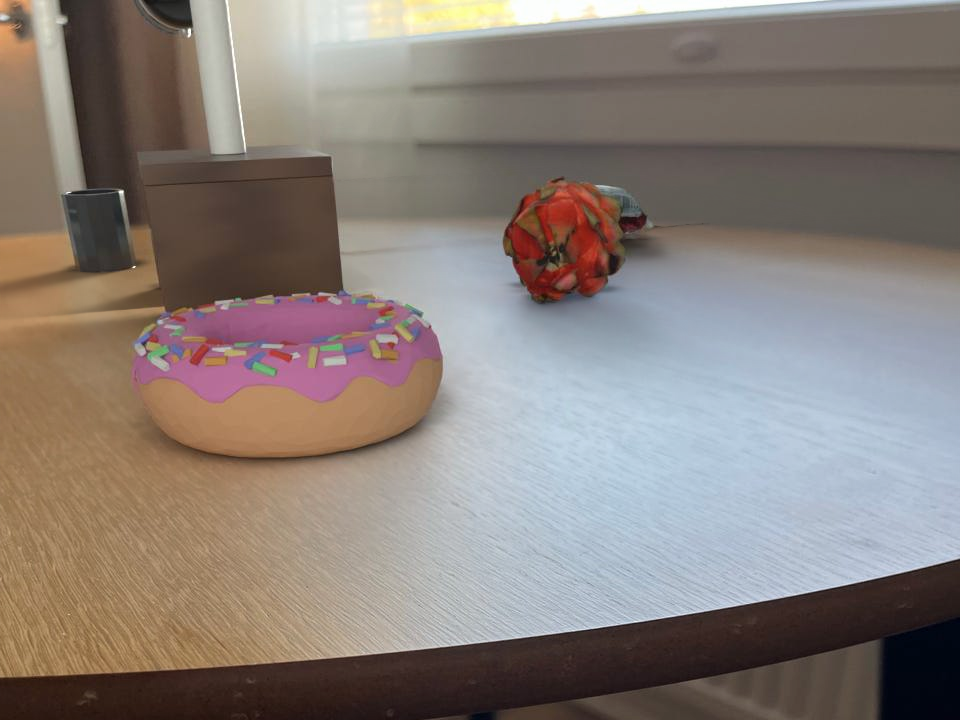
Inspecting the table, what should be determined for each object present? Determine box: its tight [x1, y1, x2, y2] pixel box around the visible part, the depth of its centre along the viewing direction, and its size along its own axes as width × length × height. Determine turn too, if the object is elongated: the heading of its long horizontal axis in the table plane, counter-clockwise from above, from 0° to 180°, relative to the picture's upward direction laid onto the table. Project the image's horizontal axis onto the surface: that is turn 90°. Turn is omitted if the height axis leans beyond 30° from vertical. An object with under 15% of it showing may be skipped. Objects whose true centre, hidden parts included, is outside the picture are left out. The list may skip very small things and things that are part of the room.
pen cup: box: [60, 188, 138, 273], centre depth 88 cm, size 5×5×6 cm
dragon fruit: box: [502, 175, 629, 304], centre depth 73 cm, size 8×8×12 cm
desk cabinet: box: [136, 144, 344, 313], centre depth 73 cm, size 12×14×10 cm
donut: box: [131, 290, 444, 459], centre depth 48 cm, size 14×14×5 cm
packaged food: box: [594, 184, 654, 241], centre depth 97 cm, size 9×12×5 cm
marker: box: [190, 0, 247, 155], centre depth 68 cm, size 3×3×14 cm
